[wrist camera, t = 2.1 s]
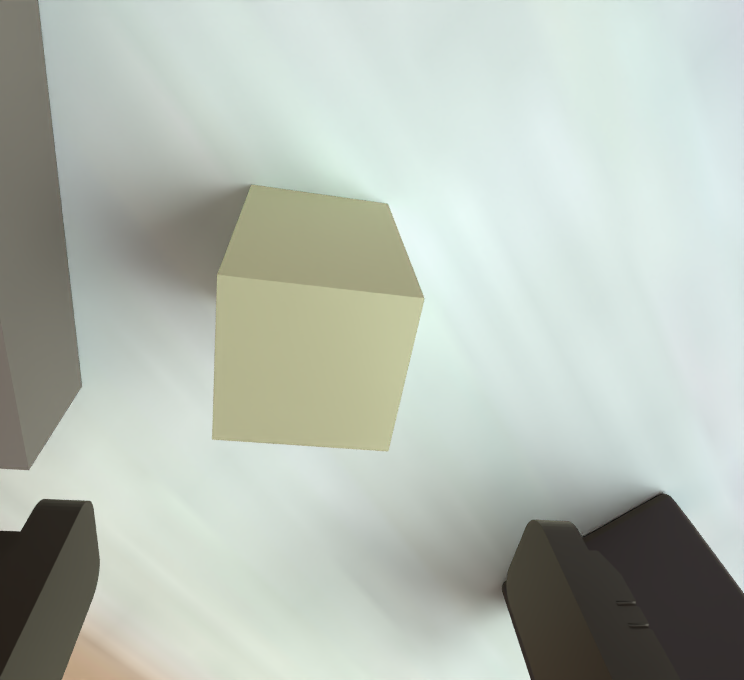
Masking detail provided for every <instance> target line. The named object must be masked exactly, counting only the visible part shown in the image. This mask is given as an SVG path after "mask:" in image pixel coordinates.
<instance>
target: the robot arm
mask: <svg viewBox="0 0 744 680" xmlns="http://www.w3.org/2000/svg"><path fill="white" fill-rule="evenodd" d="M99 567H100V558H99V549H98V541H97V533H96V525H95V517H94V509H93V505H92V503H91V501H80V500H55V499H43V500H41V501H39V502H38V504H37V505H36V506H35V508H34V509H33V511H32V513H31V514H30V516H29V518H28V520H27V521H26V523H25V525H24V527H23V528H22V530H21V532H19V531H0V680H62V677H63V675H64V672H65V669H66V667H67V664H68V662H69V659H70V656H71V654H72V651H73V649H74V646H75V643H76V641H77V638H78V636H79V633H80V630H81V628H82V625H83V623H84V620H85V617H86V615H87V612H88V610H89V607H90V604H91V602H92V599H93V596H94V593H95V590H96V586H97V581H98V576H99ZM506 585H507V597H508V601H509V605H510V608H511V611H512V614H513V617H514V620H515V623H516V626H517V629H518V632H519V634H520V637H521V640H522V643H523V646H524V649H525V652H526V655H527V658H528V661H529V664H530V667H531V670H532V673H533V675H534V678H535V680H681V679H680V678H679V676H678V674H677V672H676V671H675V669H674V667H673V665H672V664H671V662H670V660H669V658H668V656H667V655H666V653H665V651H664V649H663V648H662V646H661V644H660V642H659V641H658V639H657V637H656V635H655V633H654V632H653V630H652V629H649V623H648V621H647V619H646V618H645V616H644V614H643V612H642V610H641V609H640V607H638V606H637V605H636V600H635V598H634V596H633V595H632V593H631V591H630V589H629V587H628V586H627V584H626V582H625V580H624V579H623V577H622V575H621V574H620V573H619V572H618V571H617V570H616V569H615V568H614V567H613V565H612V564H611V563H610V562H609V561H608V560H607V559H606V558H605V557H604V556H603V555H602V554H601V553H600V552H599V551H590V550H588V548H587V546H586V544H585V543H584V541H583V539H582V537H581V535H580V533H579V531H578V529H577V528H576V526H575V525H574V524H573V523H571V522H569V521H551V520H531V521H530V522H529V523H528V524H527V526H526V528H525V531H524V533H523V535H522V538H521V540H520V543H519V545H518V548H517V550H516V553H515V555H514V557H513V560H512V562H511V565H510V567H509V570H508V574H507V583H506Z"/></svg>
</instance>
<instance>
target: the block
mask: <svg viewBox="0 0 744 680" xmlns="http://www.w3.org/2000/svg"><path fill="white" fill-rule="evenodd" d="M423 303H424V296H423V293H422V291H421V288H420V286H419V283H418V280H417V278H416V275H415V273H414V270H413V267H412V265H411V262H410V260H409V257H408V255H407V252H406V249H405V247H404V244H403V242H402V239H401V236H400V234H399V231H398V229H397V226H396V224H395V221H394V218H393V216H392V213H391V211H390V208H389V205H388V204H385V203H378V202H371V201H364V200H357V199H350V198H343V197H336V196H329V195H322V194H315V193H308V192H301V191H293V190H286V189H279V188H272V187H265V186H258V185H251V187H250V189H249V192H248V195H247V197H246V200H245V203H244V205H243V208H242V211H241V213H240V216H239V218H238V221H237V224H236V226H235V229H234V232H233V234H232V237H231V240H230V242H229V245H228V247H227V250H226V253H225V255H224V258H223V261H222V263H221V266H220V268H219V271H218V274H217V295H216V329H215V362H214V396H213V429H212V439H213V440H228V441H242V442H257V443H272V444H287V445H302V446H316V447H331V448H346V449H361V450H375V451H388V450H389V446H390V442H391V437H392V433H393V429H394V425H395V421H396V416H397V412H398V408H399V404H400V400H401V395H402V391H403V387H404V383H405V378H406V374H407V370H408V366H409V362H410V357H411V353H412V349H413V345H414V341H415V336H416V332H417V328H418V324H419V320H420V315H421V311H422V307H423Z"/></svg>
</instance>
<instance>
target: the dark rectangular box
mask: <svg viewBox="0 0 744 680" xmlns="http://www.w3.org/2000/svg"><path fill="white" fill-rule="evenodd" d="M582 539H583V541H584V543H585V544H586V546H587V548H588V550H590V551H599V552H600V553H601V554H602V555H603V556H604V557H605V558H606V559H607V560H608V561H609V562H610V563H611V564H612V565H613V567H614V568H615V569H616V570H617V571H618V572H619V573H620V574H621V575H622V577H623V579H624V580H625V582H626V584H627V586H628V587H629V589H630V591H631V593H632V595H633V596H634V598H635V600H636V605H637V606H638V607H640V609H641V610H642V612H643V614H644V616H645V618H646V619H647V621H648V623H649V629H652V630H653V632H654V633H655V635H656V637H657V639H658V641H659V642H660V644H661V646H662V648H663V649H664V651H665V653H666V655H667V656H668V658H669V660H670V662H671V664H672V665H673V667H674V669H675V671H676V672H677V674H678V676H679V678H680V679H681V680H744V593H743V591H742V590H741V589H740V587H739V586H738V585H737V583H736V582H735V581H734V579H733V578H732V577H731V575H730V574H729V573H728V571H727V570H726V569H725V567H724V566H723V564H722V563H721V562H720V560H719V559H718V558H717V556H716V555H715V554H714V552H713V551H712V550H711V548H710V547H709V546H708V544H707V543H706V542H705V540H704V539H703V538H702V536H701V535H700V534H699V532H698V531H697V529H696V528H695V527H694V525H693V524H692V523H691V521H690V520H689V519H688V518H687V516H686V515H685V514H684V512H683V511H682V510H681V508H680V507H679V506H678V505H677V503H676V502H675V501H674V500H673V499H672V497H671V496H669V495H667V494H661V495H659V496H657V497H655V498H653V499H651V500H650V501H648V502H646V503H644V504H642V505H641V506H639V507H637V508H635V509H633V510H632V511H630V512H628V513H626V514H625V515H623V516H621V517H619V518H617V519H616V520H614V521H612V522H610V523H609V524H607V525H605V526H603V527H601V528H600V529H598V530H596V531H594V532H592V533H591V534H589V535H587V536H585V537H584V538H582ZM506 583H507V581H506V582H504V584H503V586H502V592H503V595H504V598H505V601H506V604H507V607H508V611H509V614H510V617H511V620H512V623H513V626H514V629H515V632H516V635H517V638H518V641H519V644H520V647H521V651H522V654H523V657H524V660H525V663H526V666H527V669H528V672H529V675H530V678H531V680H535V678H534V675H533V673H532V670H531V667H530V664H529V661H528V658H527V655H526V652H525V649H524V646H523V643H522V640H521V637H520V634H519V632H518V629H517V626H516V623H515V620H514V617H513V614H512V611H511V608H510V605H509V601H508V597H507V585H506Z"/></svg>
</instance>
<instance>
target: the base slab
mask: <svg viewBox="0 0 744 680" xmlns="http://www.w3.org/2000/svg"><path fill="white" fill-rule="evenodd" d="M81 387H82V382H81V373H80V365H79V356H78V347H77V338H76V330H75V321H74V312H73V303H72V295H71V286H70V277H69V268H68V260H67V251H66V242H65V233H64V225H63V216H62V207H61V198H60V190H59V181H58V172H57V163H56V155H55V146H54V137H53V128H52V120H51V111H50V102H49V93H48V85H47V76H46V67H45V58H44V50H43V41H42V32H41V23H40V15H39V6H38V0H0V468H1V469H19V470H29V469H30V468H31V466H32V465H33V463H34V461H35V460H36V458H37V457H38V455H39V453H40V452H41V450H42V449H43V447H44V446H45V444H46V442H47V441H48V439H49V438H50V436H51V434H52V433H53V431H54V430H55V428H56V427H57V425H58V423H59V422H60V420H61V419H62V417H63V415H64V414H65V412H66V411H67V409H68V407H69V406H70V404H71V403H72V401H73V400H74V398H75V396H76V395H77V393H78V392H79V390H80V388H81Z"/></svg>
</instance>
